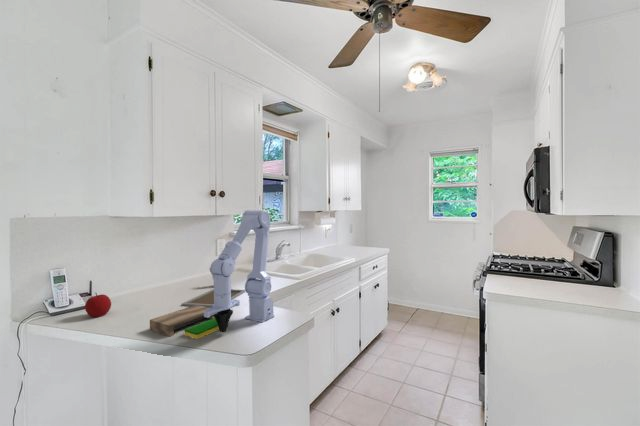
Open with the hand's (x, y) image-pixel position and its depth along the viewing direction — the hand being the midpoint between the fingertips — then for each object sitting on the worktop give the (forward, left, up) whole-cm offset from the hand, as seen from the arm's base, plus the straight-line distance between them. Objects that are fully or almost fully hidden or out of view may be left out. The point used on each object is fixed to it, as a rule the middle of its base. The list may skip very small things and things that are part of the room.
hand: (223, 331), depth 104 cm
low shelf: (+21, 0, -1) cm, 21 cm away
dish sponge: (+8, 0, -2) cm, 9 cm away
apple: (+63, +11, -1) cm, 64 cm away
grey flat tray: (+38, -31, -2) cm, 49 cm away
